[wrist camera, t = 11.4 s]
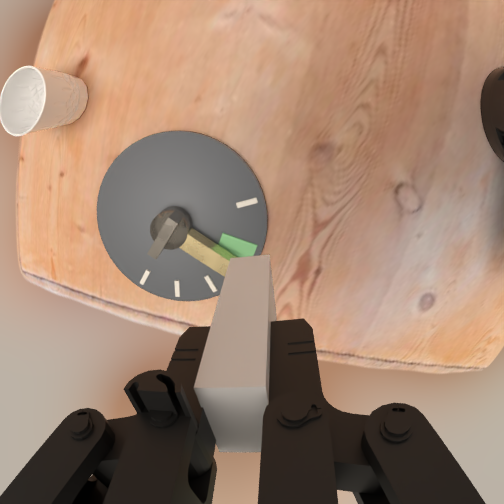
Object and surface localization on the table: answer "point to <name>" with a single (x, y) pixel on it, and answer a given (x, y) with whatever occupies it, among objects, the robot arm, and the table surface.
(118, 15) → the table surface
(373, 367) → the table surface
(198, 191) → the dial
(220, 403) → the robot arm
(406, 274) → the table surface
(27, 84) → the white cup
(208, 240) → the needle
